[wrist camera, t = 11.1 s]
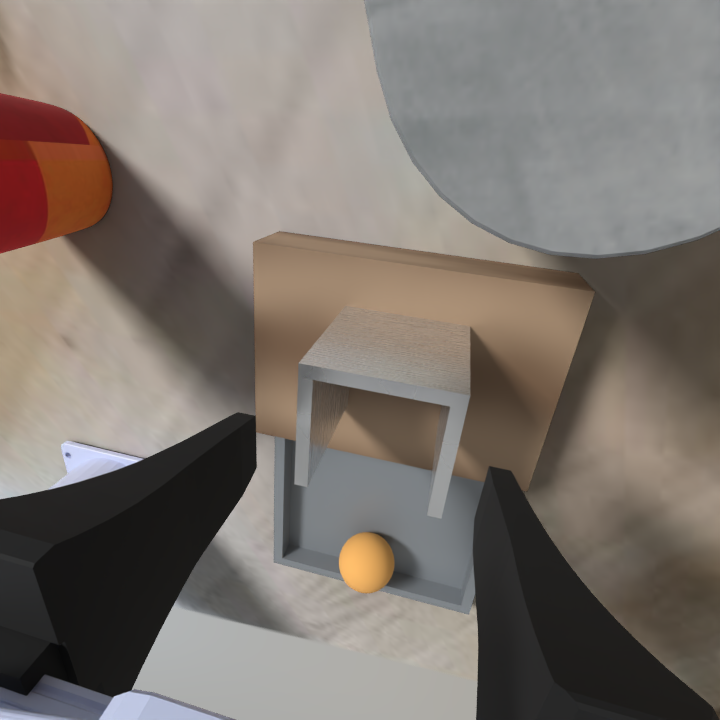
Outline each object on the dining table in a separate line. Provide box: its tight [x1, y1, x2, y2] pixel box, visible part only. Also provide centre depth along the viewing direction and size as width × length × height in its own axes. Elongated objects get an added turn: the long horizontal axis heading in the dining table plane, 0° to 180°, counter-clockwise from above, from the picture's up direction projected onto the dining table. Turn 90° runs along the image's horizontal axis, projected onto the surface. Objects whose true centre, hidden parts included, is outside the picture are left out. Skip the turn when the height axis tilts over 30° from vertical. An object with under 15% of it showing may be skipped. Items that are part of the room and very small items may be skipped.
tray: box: [274, 436, 484, 615], centre depth 27 cm, size 11×13×2 cm
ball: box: [339, 532, 395, 593], centre depth 27 cm, size 3×3×3 cm
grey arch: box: [294, 306, 470, 519], centre depth 17 cm, size 5×5×6 cm
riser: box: [253, 231, 595, 492], centre depth 21 cm, size 10×14×3 cm
